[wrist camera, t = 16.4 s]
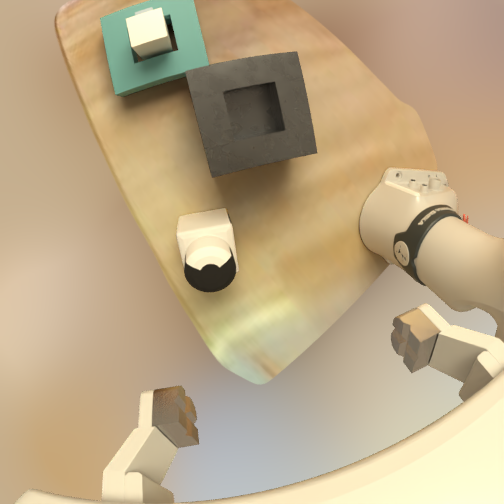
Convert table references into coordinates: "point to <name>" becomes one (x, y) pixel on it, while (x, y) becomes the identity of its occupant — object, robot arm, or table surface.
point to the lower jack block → (160, 67)
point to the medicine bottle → (207, 249)
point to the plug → (149, 33)
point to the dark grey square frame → (252, 111)
